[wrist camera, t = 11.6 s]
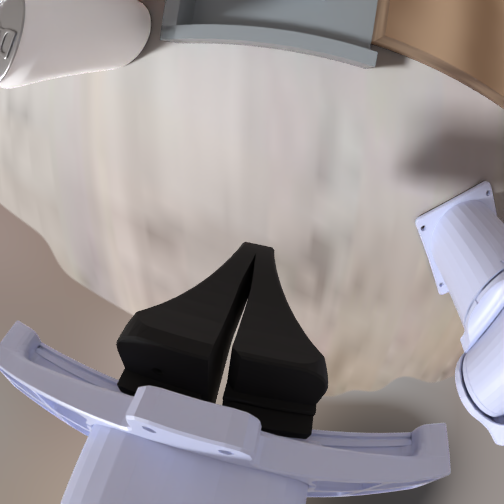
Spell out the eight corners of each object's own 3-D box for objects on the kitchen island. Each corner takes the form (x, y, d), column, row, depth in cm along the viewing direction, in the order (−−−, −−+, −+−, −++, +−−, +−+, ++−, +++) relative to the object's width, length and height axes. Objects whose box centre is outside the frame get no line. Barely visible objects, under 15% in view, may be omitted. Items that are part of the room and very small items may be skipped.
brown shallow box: (520, 17, 7) (548, 16, 4) (509, 113, 13) (538, 124, 10) (382, -60, 8) (395, -81, 5) (369, 43, 14) (384, 35, 10)
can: (115, -10, 13) (-1, -24, 3) (169, 15, 14) (47, -10, 5) (79, 52, 16) (-37, 75, 6) (125, 82, 18) (1, 115, 8)
